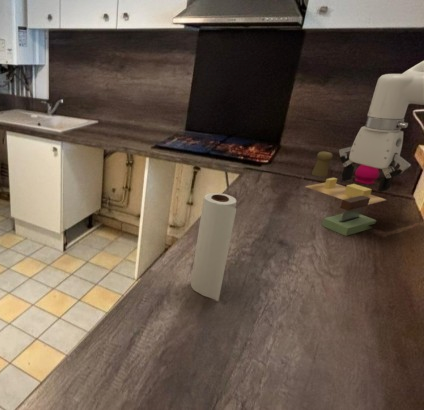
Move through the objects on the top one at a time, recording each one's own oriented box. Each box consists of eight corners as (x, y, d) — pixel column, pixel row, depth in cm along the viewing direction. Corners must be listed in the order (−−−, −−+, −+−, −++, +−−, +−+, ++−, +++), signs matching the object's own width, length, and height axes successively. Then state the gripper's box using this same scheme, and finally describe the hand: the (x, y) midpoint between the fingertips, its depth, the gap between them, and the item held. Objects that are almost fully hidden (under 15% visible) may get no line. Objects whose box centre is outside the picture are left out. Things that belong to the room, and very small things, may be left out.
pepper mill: (355, 186, 137) (372, 135, 130) (349, 180, 144) (365, 131, 136) (377, 188, 135) (396, 136, 127) (370, 182, 142) (387, 132, 134)
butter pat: (334, 187, 132) (337, 178, 131) (327, 189, 131) (330, 180, 129) (330, 186, 133) (333, 177, 132) (323, 187, 132) (326, 178, 130)
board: (385, 203, 122) (387, 199, 122) (360, 210, 117) (361, 206, 116) (328, 185, 139) (329, 181, 138) (304, 190, 134) (305, 186, 133)
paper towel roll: (191, 277, 82) (205, 190, 73) (219, 283, 80) (236, 194, 71) (188, 295, 76) (202, 202, 67) (218, 302, 74) (236, 207, 65)
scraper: (360, 225, 107) (370, 197, 103) (341, 231, 103) (350, 202, 100) (352, 222, 109) (362, 195, 105) (333, 227, 105) (342, 199, 102)
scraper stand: (373, 227, 105) (376, 220, 104) (345, 236, 101) (348, 228, 100) (349, 218, 111) (351, 211, 110) (321, 225, 106) (324, 218, 106)
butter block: (368, 198, 122) (372, 189, 121) (361, 200, 121) (364, 191, 119) (350, 192, 127) (353, 183, 126) (343, 194, 126) (346, 185, 124)
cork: (323, 181, 142) (331, 154, 138) (307, 177, 147) (314, 151, 142) (329, 178, 146) (337, 152, 142) (313, 174, 150) (320, 149, 146)
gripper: (431, 128, 88) (407, 193, 95) (357, 117, 103) (341, 174, 109) (413, 131, 85) (390, 197, 92) (340, 120, 100) (324, 178, 107)
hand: (363, 185), depth 101 cm, fingers open, 9 cm apart
